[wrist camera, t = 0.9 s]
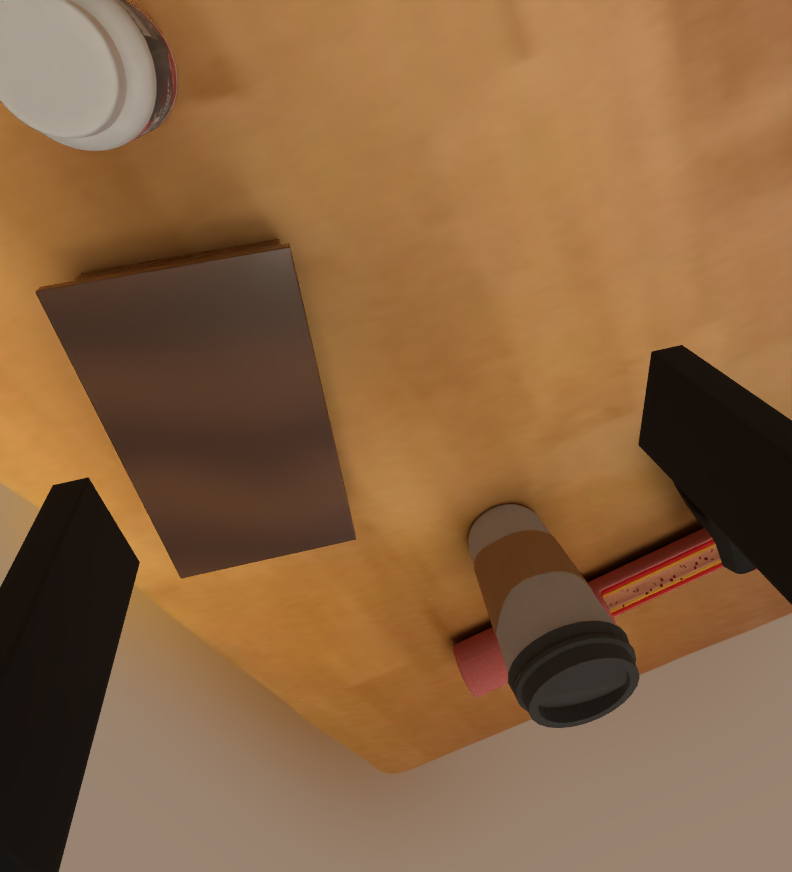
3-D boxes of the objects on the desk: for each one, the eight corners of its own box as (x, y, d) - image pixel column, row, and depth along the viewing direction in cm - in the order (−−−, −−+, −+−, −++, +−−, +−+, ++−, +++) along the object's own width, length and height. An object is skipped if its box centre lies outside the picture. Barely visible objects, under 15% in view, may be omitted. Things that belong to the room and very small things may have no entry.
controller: (696, 397, 43) (796, 475, 35) (719, 496, 50) (807, 581, 41) (644, 424, 43) (731, 507, 35) (674, 519, 50) (752, 607, 42)
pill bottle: (155, 158, 28) (108, 193, 20) (36, 90, 25) (-72, 99, 17) (198, 47, 26) (165, 36, 18) (73, -38, 23) (-31, -95, 15)
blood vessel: (869, 437, 49) (924, 470, 45) (867, 474, 52) (918, 509, 48) (447, 635, 53) (462, 682, 49) (466, 660, 56) (481, 707, 52)
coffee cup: (540, 559, 50) (628, 720, 37) (450, 571, 48) (511, 741, 36) (557, 486, 45) (663, 642, 33) (458, 497, 44) (531, 664, 32)
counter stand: (64, 263, 29) (34, 291, 26) (287, 225, 30) (289, 246, 27) (188, 532, 41) (180, 578, 37) (348, 498, 42) (356, 539, 38)
